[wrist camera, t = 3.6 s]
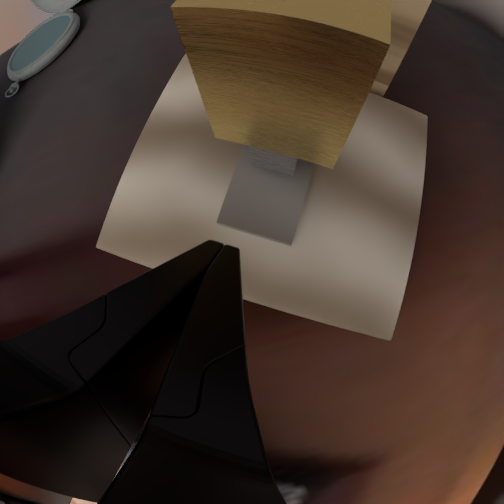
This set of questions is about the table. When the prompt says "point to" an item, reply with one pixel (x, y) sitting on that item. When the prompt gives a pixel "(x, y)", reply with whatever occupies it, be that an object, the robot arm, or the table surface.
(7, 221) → the table surface
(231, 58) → the bolt
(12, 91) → the pocket watch
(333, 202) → the door and jamb
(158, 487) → the robot arm
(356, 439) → the table surface
